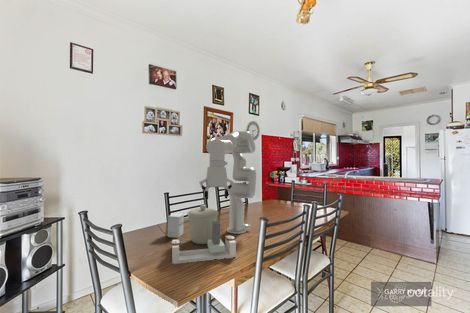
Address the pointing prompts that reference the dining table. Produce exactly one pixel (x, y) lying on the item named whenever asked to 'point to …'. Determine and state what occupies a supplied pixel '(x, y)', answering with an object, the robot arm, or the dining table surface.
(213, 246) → the carriage
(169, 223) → the supplement box
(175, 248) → the rail track
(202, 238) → the canister
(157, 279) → the dining table surface
